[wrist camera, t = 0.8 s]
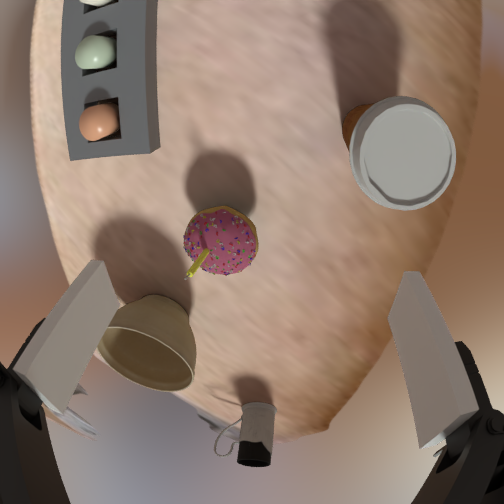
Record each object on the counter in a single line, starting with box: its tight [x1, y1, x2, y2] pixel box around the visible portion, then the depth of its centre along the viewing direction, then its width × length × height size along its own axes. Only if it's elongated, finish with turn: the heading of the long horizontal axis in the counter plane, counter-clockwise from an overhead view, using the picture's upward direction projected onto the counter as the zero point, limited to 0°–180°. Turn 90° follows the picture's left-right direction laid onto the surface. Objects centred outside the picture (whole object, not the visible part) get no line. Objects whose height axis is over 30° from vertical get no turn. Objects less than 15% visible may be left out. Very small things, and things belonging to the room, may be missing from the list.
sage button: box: [75, 35, 117, 69], centre depth 22 cm, size 4×4×4 cm
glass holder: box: [214, 402, 277, 467], centre depth 58 cm, size 9×14×15 cm, turn 101°
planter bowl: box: [96, 295, 196, 392], centre depth 43 cm, size 16×16×11 cm
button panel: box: [61, 0, 160, 161], centre depth 24 cm, size 26×12×3 cm, turn 179°
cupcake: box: [183, 206, 258, 280], centre depth 32 cm, size 9×8×12 cm
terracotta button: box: [79, 103, 120, 141], centre depth 27 cm, size 4×4×4 cm
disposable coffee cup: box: [342, 96, 456, 210], centre depth 23 cm, size 10×10×12 cm
